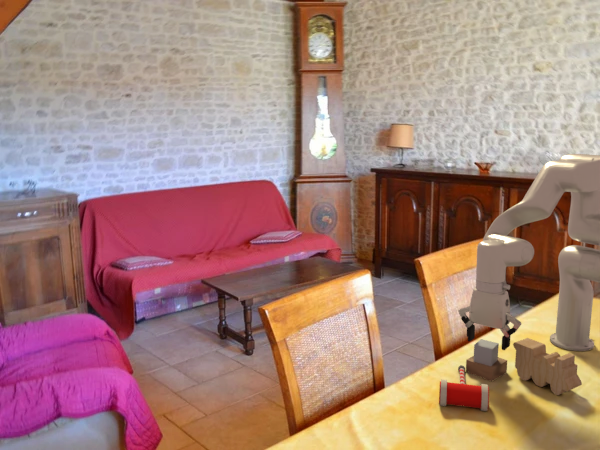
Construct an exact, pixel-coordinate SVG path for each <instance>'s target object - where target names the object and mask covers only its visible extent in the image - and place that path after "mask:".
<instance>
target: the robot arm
mask: <svg viewBox="0 0 600 450" xmlns="http://www.w3.org/2000/svg"><path fill="white" fill-rule="evenodd" d="M537 173H538V174H536V176H535V179H534V180H533V182H532V183H531V185H530V186H529V188H528V190H527V192H525V195H524V197H523V199H522V200H521V201H519V202H518V203H516V204H515V205H513V206H510V208H508V209H507V210H505V211H504V212H502V213H500V214H499V215H498V216H497V217H496V218H495V219H494V220H493V222H492V223H491V224H490V226H489V228H488V229H487V231H486V233H485V235H484V236H483V239H482V241H480V242H479V243H478V244H477V248H476V249H477V250H476V270H475V271H476V272H475V273H476V275H475V277H476V278H475V286H474V287H473V289H472V294H471V297H470V303H469V306H465V307H462V308H460V309H458V314H459V317H461V318H460V319H461V320H462V322H463V324H465V325H464V327H466V337H467V341H468V342H471V341H473V340H474V339H475V337H476V336H475V335H476V334H475V333H476V325H477V324H478V325H480V326H481V325H482V326H485V327H489V328H494V329H499V330H500V331H501V333H502V334H503V335H502V338H501V350H502V351H506V350H507V348H509V347H510V345H511V336H512V335H513V334H514V333H516V332H517V331H518V330H519V328H520V327H521V325H522V321H520V320H519V319H517V318H516V317H515V316H514V315H512V314H511V305H510V297H509V292H508V291H510V289H511V285H510V284H507V281H506V274H507V273H506V270H507V267H522V266H525V265H527V264H529V263H530V262H531V261H532V260H533V258H534V255H535V248H534V246H533V245H532V243H531V242H529V241H528V240H526V239H522V238H520V237H516V236H512V235H511V236H510V235H509V234H510V233H511V232H512V231H513V230H515V229H517V228H518V227H520V226H523V225H526V224H530V223H534V222H535V223H536V222H538V221H542V220H545V219H548V218H549V217H550V216H551V215H552V213H553V211H554V209H556V207H557V205H558V203H559V202H560V200H561V198H562V196H563V195H564V193H567V192H568V193H570V196H571V198H570V207H569V216H568V224H567V233H568V236H569V237H570V238H571V240H573V241H577V242H580V243H584V244H589V245H594V246H599V247H600V154H587V153H586V154H585V153H568V154H565V155H562V156H561V157H560V158H559V159H558V160H551V161H548V162H546V163H544V164H543V165H542V167H541V168H540V170H539V172H537ZM557 259H558V260H557V263H558V264H557V265H558V272H559V289H558V291H559V293H558V299H557V300H558V302H557V311H556V313H557V314H556V315H557V316H556V325H555V327H556V328H555V333H552V334H550V336H549V341H550V343H551V344H553V345H554V346H556V347H558V348H561V349H563V350H567V351H573V352H574V351H576V352H587V351H591V350H593V349H594V348H595V341H594V340H593V339H592V338H590V335H591V334H590V332H591V325H592V324H591V323H592V312H593V301H594V288H593V285H592V282H595V283H599V284H600V249H596V248H593V247H588V246H583V245H577V244H572V245H567V246H565V247H563V248H562V249H561V250H560V252H559V254H558V258H557ZM507 290H508V291H507ZM467 313H468V315H469V316H468V315H467ZM510 323H511V324H512V325H513V326H512V327H510V326H509V324H510ZM475 324H476V325H475Z"/></svg>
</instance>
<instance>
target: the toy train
mask: <svg viewBox="0 0 600 450" xmlns="http://www.w3.org/2000/svg"><path fill="white" fill-rule="evenodd" d="M512 345H513V348H514V350H515V362H514V367H515V369H516V373H517V376H518V378H520V379H521V380H523V381H529V380H530V379H531V380H532V381H533V383H534V384H535V385H536V386H538V387H541V388H542V387H545V386H547V385H550V387H549V388H550V390H551V392H552V393H553V394H554V395H555V396H556V395H557V396H560V395H561V394H562V395H563V394H564V393H566V392H569V391H572V390H574V389H575V388H578V387H581V386H582V381H581V379H580V377H579V375H578V364H576V363H575V360H576V359H575V358H576V355H575V354H573V353H570V352H569V353H566V354H563V355H561V354H560V353H559V352H558V351H557V352H556V351H555V352H552V353H548V352H547V347H546V344H545V343H542V342H540V341H537V340H535V339H531V338H529V337H526V338H524V339H521V340H518V341H516V342H515V341H514V342H513V344H512Z"/></svg>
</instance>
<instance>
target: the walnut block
mask: <svg viewBox="0 0 600 450" xmlns="http://www.w3.org/2000/svg"><path fill="white" fill-rule="evenodd" d="M507 369H508V360H507V359H505V358H501V357H500V356H498V360H497V361H496V362H495V363H494V364H493V365H492V366H488V365H485V364H481V363H477V362H474V355H472V356H471V357H469V358H466V361H465V372H466V373H468V374H470V375H473V376H476V377H478V378H481V379H484V380H486V381H487V382H488V381H489V382H492V383H493V382H494V381H495V380H497V379H498V378H501V377H502V376H503V375H505V374H507V373H508V372H507V371H508V370H507Z"/></svg>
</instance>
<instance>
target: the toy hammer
mask: <svg viewBox="0 0 600 450" xmlns="http://www.w3.org/2000/svg"><path fill="white" fill-rule="evenodd" d="M457 370H458V373H459V383H457V382H448V380H447V379H440V381H439V389H438V390H439V394H438V397H439V398H438V403H439V406H440V407H447V405H449V406H457V407H466V408H474V409H480V412H488V410H489V407H490V387H489V385H488V384H485V383H481V384H480V385H476V384H466V377H465V375H466V374H465V372H466V366H465V365H458V368H457Z"/></svg>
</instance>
